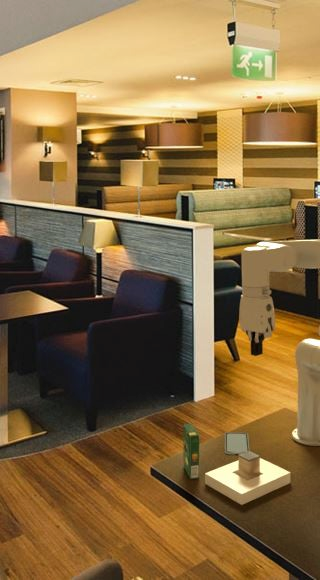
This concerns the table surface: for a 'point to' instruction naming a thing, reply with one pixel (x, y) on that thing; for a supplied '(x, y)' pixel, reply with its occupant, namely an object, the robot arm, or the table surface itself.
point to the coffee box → (191, 451)
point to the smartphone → (236, 443)
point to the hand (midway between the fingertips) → (256, 354)
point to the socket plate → (245, 490)
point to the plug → (248, 465)
